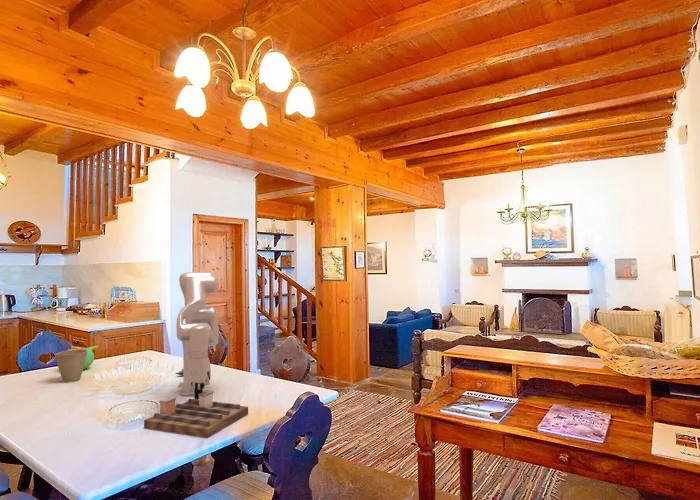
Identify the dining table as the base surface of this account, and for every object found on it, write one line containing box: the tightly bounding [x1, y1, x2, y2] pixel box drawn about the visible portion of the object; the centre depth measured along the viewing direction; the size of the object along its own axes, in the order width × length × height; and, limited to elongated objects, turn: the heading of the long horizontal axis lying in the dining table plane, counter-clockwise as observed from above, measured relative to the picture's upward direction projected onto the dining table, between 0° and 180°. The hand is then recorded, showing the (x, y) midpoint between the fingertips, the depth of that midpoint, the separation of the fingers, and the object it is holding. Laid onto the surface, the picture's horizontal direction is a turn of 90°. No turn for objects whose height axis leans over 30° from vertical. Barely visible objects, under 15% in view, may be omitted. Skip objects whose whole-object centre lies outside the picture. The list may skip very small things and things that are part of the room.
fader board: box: [143, 398, 249, 439], centre depth 168 cm, size 30×26×5 cm
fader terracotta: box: [158, 396, 177, 415], centre depth 166 cm, size 3×5×6 cm, turn 160°
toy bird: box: [66, 345, 99, 370], centre depth 258 cm, size 18×17×15 cm
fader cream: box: [198, 390, 214, 407], centre depth 174 cm, size 3×5×6 cm, turn 160°
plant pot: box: [55, 349, 87, 383], centre depth 232 cm, size 15×15×16 cm
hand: (198, 398), depth 176 cm, fingers closed
